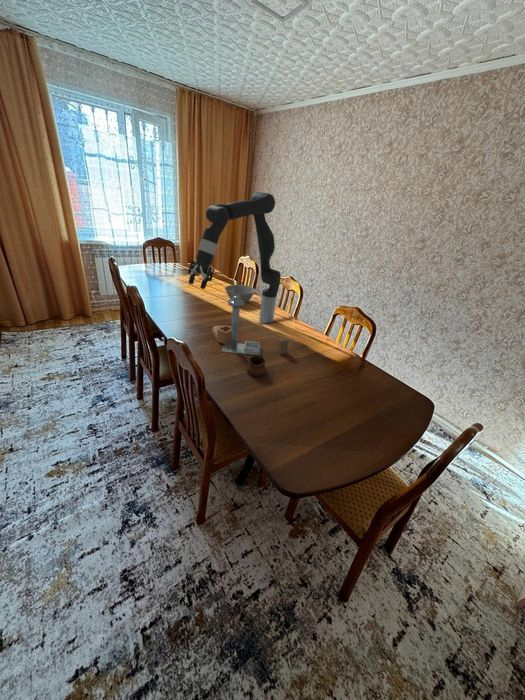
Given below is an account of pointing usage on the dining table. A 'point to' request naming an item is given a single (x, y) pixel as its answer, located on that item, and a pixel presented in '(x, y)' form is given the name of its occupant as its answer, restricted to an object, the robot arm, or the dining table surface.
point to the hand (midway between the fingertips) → (196, 286)
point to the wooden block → (282, 346)
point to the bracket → (222, 333)
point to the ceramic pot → (256, 366)
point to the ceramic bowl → (240, 292)
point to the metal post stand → (233, 346)
